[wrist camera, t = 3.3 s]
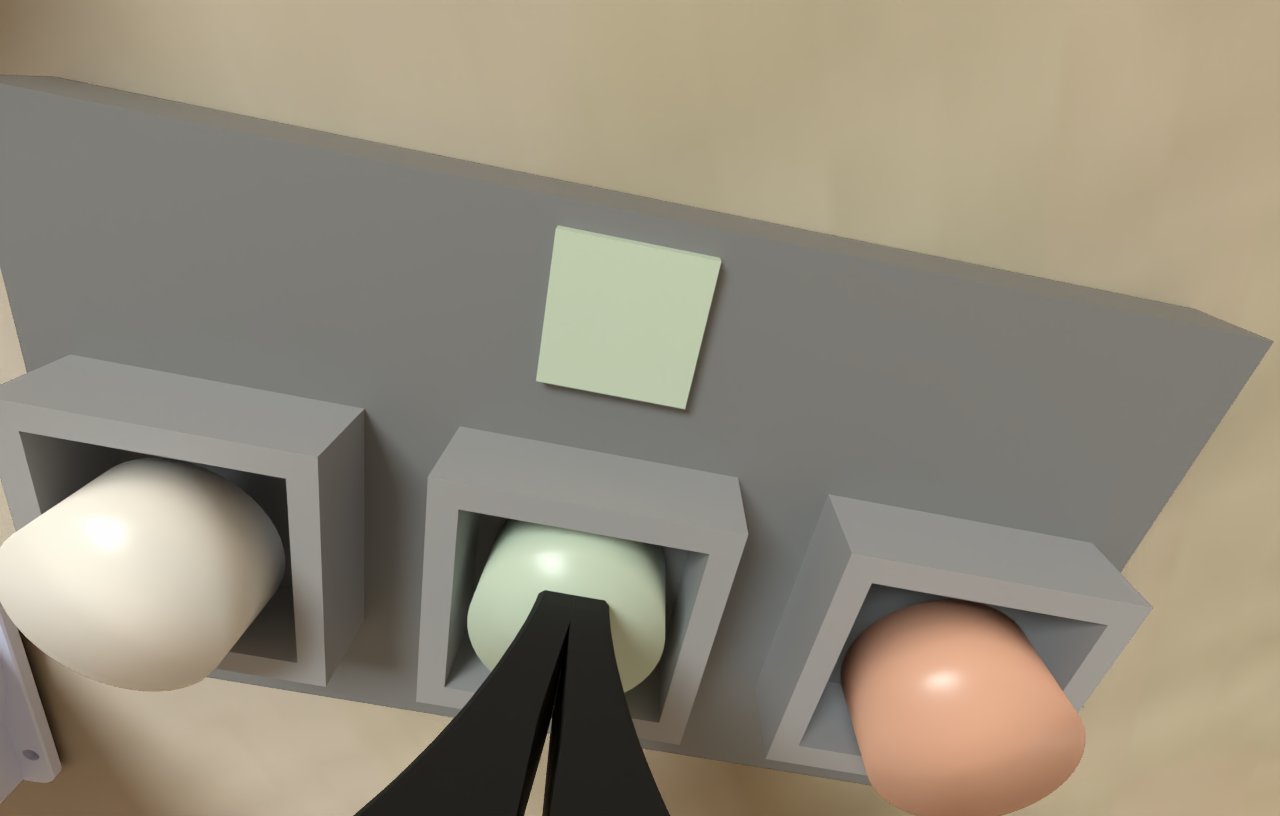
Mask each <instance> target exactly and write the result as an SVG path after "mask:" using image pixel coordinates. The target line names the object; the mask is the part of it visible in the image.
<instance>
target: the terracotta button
mask: <svg viewBox="0 0 1280 816" xmlns="http://www.w3.org/2000/svg"><path fill="white" fill-rule="evenodd" d="M840 681H841V686H842V691H843V694H844V698H845V701H846V704H847V708H848V711H849V715H850V718H851V722H852V725H853V728H854V732H855V735H856V739H857V742H858V745H859V749H860V752H861V756H862V759H863V763H864V766H865V769H866V773H867V776H868V778H869V781H870V783H871V784H872V786H873V787H874V789H875V790H876V791H877V792H878V793H879V795H880V796H881V797H882V798H884V799H885V800H886V801H888V802H889V803H890V804H892V805H894V806H895V807H897V808H899V809H901V810H903V811H906V812H908V813H911V814H914V815H917V816H1000V815H1004V814H1007V813H1011V812H1014V811H1017V810H1019V809H1022V808H1025V807H1027V806H1029V805H1031V804H1033V803H1035V802H1037V801H1039V800H1041V799H1042V798H1044V797H1046V796H1047V795H1049V794H1050V793H1052V792H1053V791H1054V790H1056V789H1057V788H1058V787H1059V786H1060V785H1062V784H1063V783H1064V782H1065V781H1066V780H1067V779H1068V778H1069V776H1070V775H1071V774H1072V773H1073V772H1074V770H1075V769H1076V767H1077V766H1078V764H1079V762H1080V760H1081V758H1082V755H1083V752H1084V748H1085V730H1084V726H1083V723H1082V721H1081V719H1080V717H1079V715H1078V714H1077V712H1076V711H1075V709H1074V708H1073V706H1072V704H1071V703H1070V701H1069V700H1068V698H1067V697H1066V695H1065V694H1064V692H1063V691H1062V689H1061V688H1060V686H1059V685H1058V683H1057V682H1056V680H1055V679H1054V677H1053V676H1052V674H1051V673H1050V671H1049V670H1048V668H1047V667H1046V665H1045V664H1044V662H1043V661H1042V659H1041V658H1040V656H1039V655H1038V653H1037V652H1036V650H1035V649H1034V647H1033V646H1032V644H1031V643H1030V641H1029V640H1028V638H1027V636H1026V635H1025V633H1024V632H1023V631H1022V629H1021V628H1020V626H1019V625H1018V624H1017V623H1016V622H1015V621H1014V620H1012V619H1011V618H1010V617H1008V616H1007V615H1006V614H1004V613H1002V612H1000V611H998V610H996V609H995V608H992V607H989V606H986V605H984V604H979V603H975V602H970V601H962V600H938V601H929V602H924V603H918V604H915V605H911V606H907V607H905V608H902V609H899V610H897V611H894V612H892V613H890V614H888V615H886V616H884V617H882V618H881V619H879V620H878V621H876V622H874V623H873V624H872V625H870V626H869V627H868V628H867V629H865V630H864V631H863V632H862V633H861V634H860V635H859V636H858V637H857V638H856V639H855V641H854V642H853V643H852V645H851V646H850V647H849V649H848V651H847V653H846V655H845V657H844V660H843V662H842V666H841V672H840Z"/></svg>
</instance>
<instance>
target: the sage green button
mask: <svg viewBox="0 0 1280 816" xmlns="http://www.w3.org/2000/svg"><path fill="white" fill-rule="evenodd" d="M665 578H666V565H665V558H664V554H663V551H662V548H661V546H660V545H655V544H649V543H644V542H638V541H633V540H627V539H621V538H616V537H610V536H605V535H599V534H593V533H588V532H582V531H577V530H571V529H565V528H560V527H554V526H549V525H543V524H537V523H532V522H526V521H520V520H515V519H508V520H507V522H506V523H505V524H504V525H503V526H502V528H501V529H500V531H499V533H498V535H497V537H496V539H495V542H494V544H493V547H492V550H491V552H490V555H489V557H488V560H487V562H486V565H485V568H484V570H483V573H482V575H481V578H480V580H479V583H478V586H477V588H476V591H475V593H474V596H473V599H472V601H471V604H470V606H469V611H468V616H467V627H468V633H469V638H470V641H471V644H472V646H473V648H474V650H475V652H476V654H477V656H478V657H479V658H480V660H481V661H482V663H483V664H484V665H485V666H486V667H487V668H488V669H489V670H490V671H491V672H492V670H493V669H494V668H495V666H496V665H497V663H498V662H499V661H500V659H501V658H502V656H503V655H504V653H505V652H506V650H507V649H508V647H509V646H510V644H511V643H512V642H513V640H514V639H515V637H516V635H517V634H518V632H519V630H520V629H521V627H522V626H523V624H524V622H525V620H526V619H527V617H528V615H529V613H530V611H531V609H532V607H533V605H534V603H535V601H536V599H537V596H538V594H539V593H540V592H542V591H544V590H547V591H553V592H559V593H565V594H570V595H576V596H582V597H588V598H594V599H600V600H605V601H606V602H607V604H608V605H609V615H610V626H611V634H612V641H613V646H614V652H615V657H616V662H617V666H618V671H619V675H620V678H621V682H622V686H623V690H624V693H625V692H627V691H628V690H630V689H632V688H634V687H635V686H637V685H638V684H640V683H641V682H642V681H643V680H644V679H645V678H646V677H648V676H649V674H650V673H651V672H652V671H653V670H654V668H655V667H656V665H657V663H658V662H659V660H660V658H661V655H662V652H663V649H664V644H665ZM574 598H575V597H574ZM567 635H568V634H567ZM564 651H565V650H564ZM560 672H561V671H560ZM557 688H558V687H557Z"/></svg>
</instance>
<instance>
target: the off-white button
mask: <svg viewBox="0 0 1280 816" xmlns="http://www.w3.org/2000/svg"><path fill="white" fill-rule="evenodd" d="M284 572H285V553H284V548H283V544H282V541H281V538H280V536H279V534H278V532H277V530H276V528H275V526H274V524H273V523H272V521H271V520H270V518H269V517H268V515H267V514H266V513H265V512H264V510H263V509H262V508H261V507H260V506H259V505H258V504H257V503H256V502H255V501H254V500H253V499H252V498H251V497H250V496H249V495H248V494H247V493H245V492H244V491H243V490H242V489H240V488H239V487H238V486H236V485H235V484H233V483H232V482H230V481H229V480H227V479H225V478H223V477H222V476H220V475H218V474H216V473H214V472H212V471H209V470H207V469H205V468H203V467H200V466H197V465H194V464H191V463H187V462H183V461H179V460H174V459H166V458H142V459H135V460H131V461H127V462H123V463H121V464H119V465H116V466H114V467H112V468H111V469H109V470H108V471H106V472H105V473H103V474H102V475H100V476H99V477H97V478H96V479H94V480H93V481H91V482H90V483H88V484H87V485H85V486H84V487H82V488H81V489H79V490H78V491H76V492H75V493H73V494H72V495H70V496H69V497H67V498H66V499H64V500H63V501H61V502H60V503H58V504H57V505H55V506H54V507H52V508H51V509H49V510H48V511H46V512H45V513H43V514H42V515H40V516H39V517H37V518H36V519H34V520H33V521H31V522H30V523H28V524H27V525H26V526H24V527H23V528H21V529H20V530H18V531H17V532H15V533H14V534H12V535H11V536H10V537H9V538H8V539H7V540H6V541H5V542H4V543H3V545H2V546H1V548H0V602H1V604H2V606H3V608H4V609H5V611H6V613H7V615H8V616H9V617H10V619H11V620H12V621H13V623H14V624H15V626H16V627H17V628H18V629H19V630H20V631H21V632H22V633H23V634H24V635H25V637H27V638H28V639H29V640H30V641H31V642H32V643H33V644H34V645H35V646H36V647H38V648H39V649H40V650H42V651H43V652H44V653H45V654H47V655H48V656H50V657H51V658H53V659H54V660H56V661H57V662H59V663H60V664H62V665H64V666H66V667H68V668H69V669H71V670H73V671H75V672H77V673H79V674H82V675H84V676H86V677H88V678H91V679H94V680H96V681H99V682H102V683H105V684H109V685H112V686H116V687H120V688H125V689H130V690H139V691H170V690H175V689H181V688H184V687H187V686H190V685H193V684H195V683H197V682H199V681H201V680H203V679H204V678H205V677H207V676H208V675H210V674H211V673H212V672H213V671H214V669H215V668H216V667H217V666H218V665H219V664H220V662H221V661H222V660H223V659H224V657H225V656H226V655H227V653H228V652H229V651H230V650H231V648H232V647H233V646H234V645H235V643H236V642H237V641H238V640H239V638H240V637H241V636H242V634H243V633H244V632H245V631H246V629H247V628H248V627H249V626H250V624H251V623H252V622H253V621H254V619H255V618H256V617H257V615H258V614H259V613H260V612H261V610H262V609H263V608H264V607H265V605H266V604H267V603H268V602H269V600H270V599H271V598H272V596H273V595H274V594H275V593H276V591H277V589H278V588H279V586H280V584H281V582H282V580H283V577H284Z"/></svg>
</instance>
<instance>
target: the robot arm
mask: <svg viewBox="0 0 1280 816" xmlns="http://www.w3.org/2000/svg"><path fill="white" fill-rule="evenodd" d="M574 597H575V598H574ZM567 634H568V635H567ZM564 650H565V651H564ZM560 671H561V672H560ZM557 687H558V688H557ZM551 718H552V722H551ZM550 722H551V732H550V742H549V753H548V763H547V773H546V784H545V794H544V805H543V815H542V816H670V814H669V812H668V810H667V808H666V806H665V804H664V801H663V799H662V797H661V794H660V792H659V790H658V788H657V785H656V783H655V781H654V778H653V776H652V773H651V771H650V768H649V766H648V763H647V761H646V758H645V756H644V753H643V750H642V748H641V745H640V742H639V739H638V736H637V733H636V730H635V727H634V724H633V721H632V718H631V715H630V712H629V708H628V705H627V701H626V698H625V694H624V690H623V686H622V682H621V678H620V675H619V671H618V666H617V662H616V657H615V652H614V646H613V641H612V634H611V626H610V615H609V605H608V604H607V602H606V601H605V600H600V599H594V598H588V597H582V596H576V595H570V594H565V593H559V592H553V591H547V590H544V591H542V592H540V593H539V594H538V596H537V599H536V601H535V603H534V605H533V607H532V609H531V611H530V613H529V615H528V617H527V619H526V620H525V622H524V624H523V626H522V627H521V629H520V630H519V632H518V634H517V635H516V637H515V639H514V640H513V642H512V643H511V644H510V646H509V647H508V649H507V650H506V652H505V653H504V655H503V656H502V658H501V659H500V661H499V662H498V663H497V665H496V666H495V668H494V669H493V670H492V672H491V673H490V674H489V676H488V677H487V678H486V679H485V681H484V682H483V683H482V685H481V686H480V687H479V688H478V690H477V691H476V692H475V693H474V695H473V696H472V697H471V699H470V700H469V701H468V702H467V704H466V705H465V706H464V707H463V708H462V709H461V711H460V712H459V713H458V714H457V715H456V716H455V718H454V719H453V720H452V721H451V722H450V723H449V724H448V725H447V727H446V728H445V729H444V730H443V731H442V732H441V733H440V734H439V735H438V736H437V737H436V739H435V740H434V741H433V742H432V743H431V744H430V745H429V746H428V747H427V748H426V749H425V750H424V751H423V752H422V753H421V754H420V755H419V756H418V757H417V758H416V759H415V760H414V761H413V762H412V763H411V764H410V765H409V766H408V767H407V768H406V769H405V770H404V771H403V772H402V773H401V774H400V775H399V776H398V777H397V778H396V779H394V780H393V781H392V782H391V783H390V784H389V785H388V786H387V787H386V788H385V789H384V790H382V791H381V792H380V793H379V794H378V795H377V796H376V797H374V798H373V799H372V800H371V801H370V802H369V803H367V804H366V805H365V806H364V807H363V808H362V809H361V810H359V811H358V812H357V813H356V814H355V815H354V816H524V813H525V810H526V806H527V803H528V799H529V796H530V792H531V789H532V785H533V782H534V778H535V775H536V771H537V768H538V764H539V761H540V757H541V754H542V750H543V747H544V743H545V739H546V736H547V732H548V729H549V725H550ZM61 770H62V767H61V763H60V760H59V757H58V753H57V750H56V747H55V744H54V741H53V738H52V735H51V731H50V728H49V725H48V722H47V719H46V716H45V713H44V709H43V706H42V703H41V700H40V697H39V694H38V691H37V687H36V684H35V681H34V678H33V675H32V672H31V669H30V665H29V662H28V659H27V656H26V653H25V650H24V647H23V643H22V640H21V637H20V634H19V631H18V628H17V627H16V626H15V624H14V623H13V621H12V620H11V619H10V617H9V616H8V615H7V613H6V611H5V609H4V608H3V606H2V604H1V602H0V804H1V803H2V802H3V801H4V799H5V798H6V797H7V796H8V795H9V794H10V793H11V792H12V791H13V790H14V789H15V788H16V787H17V786H18V785H19V784H20V782H21V781H22V780H25V781H32V782H38V783H47V782H51V781H52V780H53V779H54V778H55V777H56V776H57V775H58V774H59V773H60V772H61Z"/></svg>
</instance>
